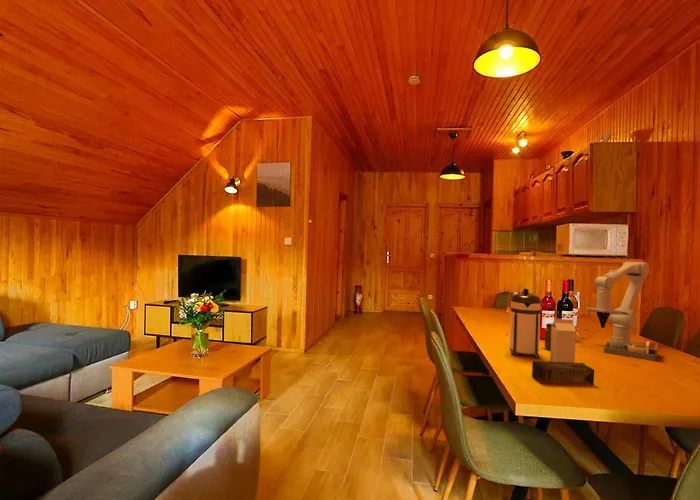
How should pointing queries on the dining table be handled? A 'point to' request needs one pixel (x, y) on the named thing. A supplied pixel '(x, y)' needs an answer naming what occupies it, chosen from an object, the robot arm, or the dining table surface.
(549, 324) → the condiment
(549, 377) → the dark brown block
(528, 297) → the coffee press
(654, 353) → the pusher lane
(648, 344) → the pusher plate
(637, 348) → the amber jar
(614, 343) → the slate jar
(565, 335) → the milk carton
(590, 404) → the dining table surface
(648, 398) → the dining table surface
